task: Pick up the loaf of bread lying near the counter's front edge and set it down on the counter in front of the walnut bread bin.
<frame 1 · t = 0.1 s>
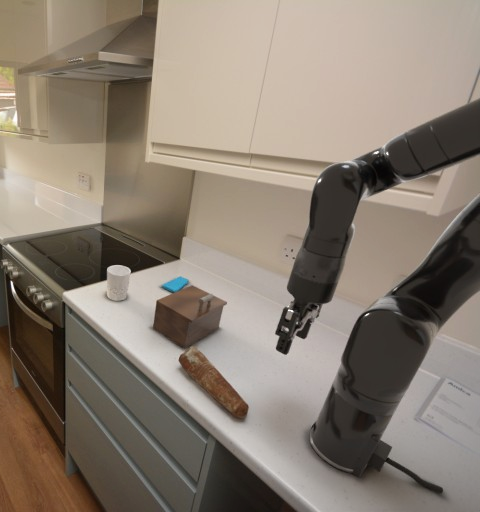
hand: (291, 344, 69), 17 cm above the countertop, tool pointing down, fingers open, 8 cm apart
bread: (212, 389, 80), on the countertop
sponge: (177, 286, 127), on the countertop
bread bin lid: (192, 296, 97), point 11 cm above the countertop, hinge at 0.0°
white cup: (116, 296, 118), on the countertop
bread bin: (185, 328, 102), on the countertop
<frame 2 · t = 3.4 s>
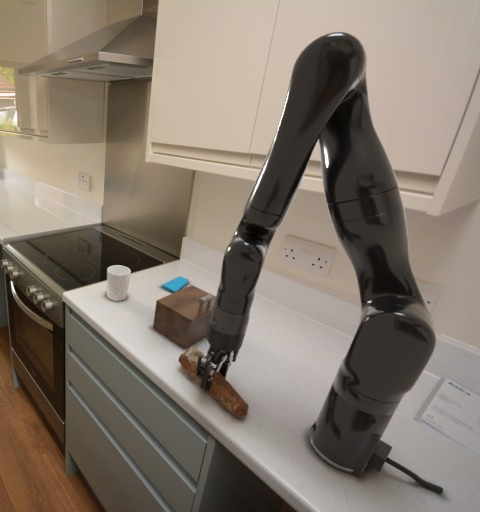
hand: (212, 383, 79), 2 cm above the countertop, tool pointing down, fingers closed on bread, 6 cm apart
bread: (212, 389, 80), on the countertop, touching gripper
everything else where it was.
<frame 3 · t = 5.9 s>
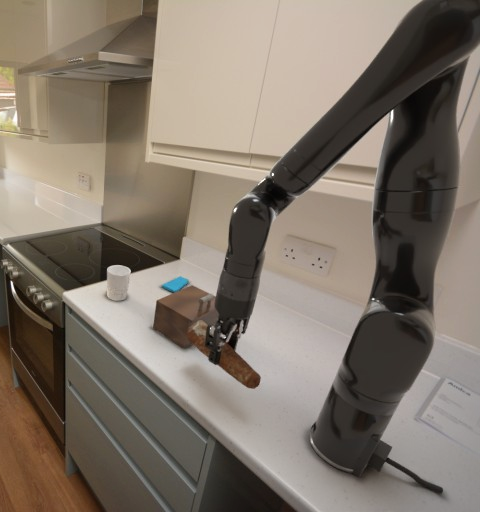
hand: (221, 356, 76), 10 cm above the countertop, tool pointing down, fingers closed on bread, 6 cm apart
bread: (221, 362, 77), point 8 cm above the countertop, touching gripper
everything else where it was.
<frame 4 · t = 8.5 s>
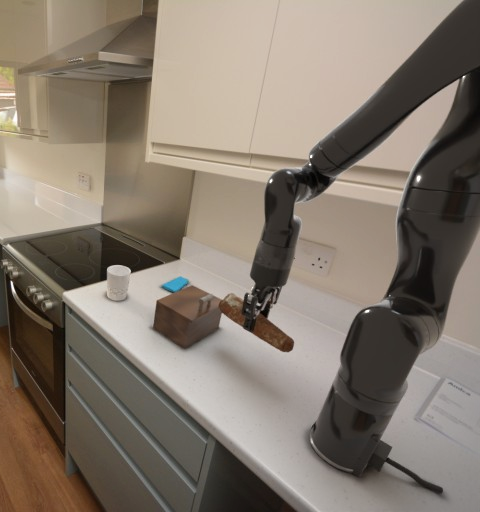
hand: (254, 325, 81), 14 cm above the countertop, tool pointing down, fingers closed on bread, 6 cm apart
bread: (254, 331, 82), point 12 cm above the countertop, touching gripper
everything else where it was.
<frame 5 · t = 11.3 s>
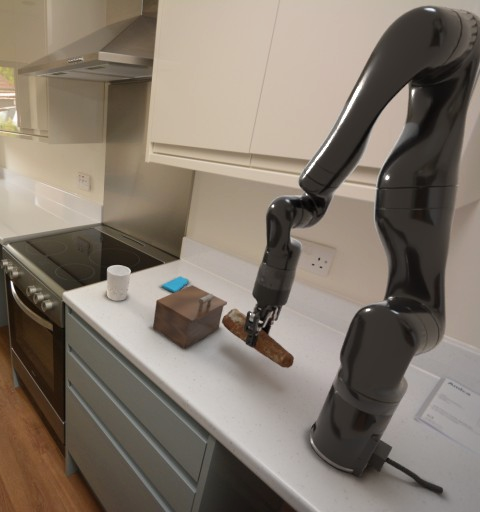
hand: (256, 340, 85), 8 cm above the countertop, tool pointing down, fingers closed on bread, 6 cm apart
bread: (256, 346, 86), point 6 cm above the countertop, touching gripper
everything else where it was.
when the fingers open (2 cm above the countertop, at t = 13.5 s): bread stays where it is, on the countertop.
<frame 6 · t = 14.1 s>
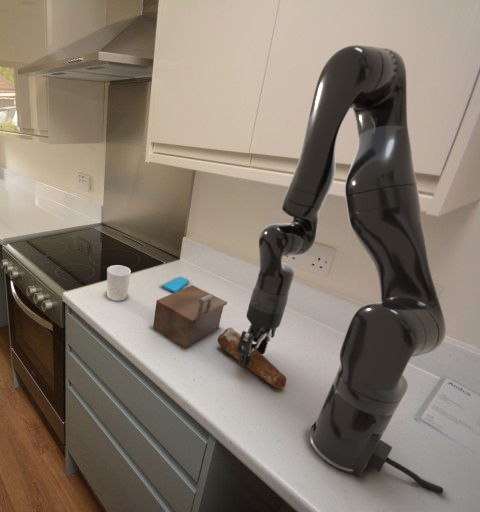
hand: (251, 358, 87), 2 cm above the countertop, tool pointing down, fingers open, 8 cm apart
bread: (250, 365, 88), on the countertop
everything else where it was.
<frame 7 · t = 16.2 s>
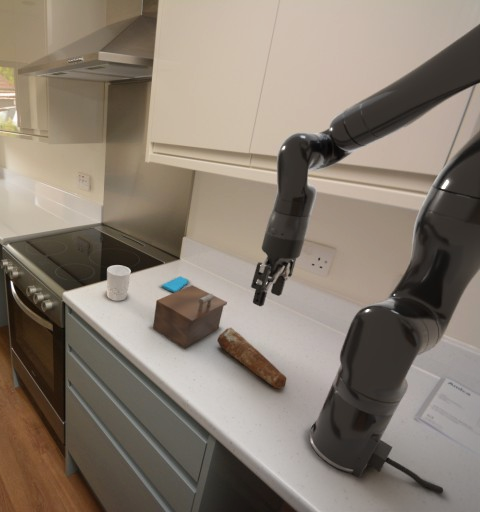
hand: (267, 299, 78), 21 cm above the countertop, tool pointing down, fingers open, 8 cm apart
nothing on the countertop moved.
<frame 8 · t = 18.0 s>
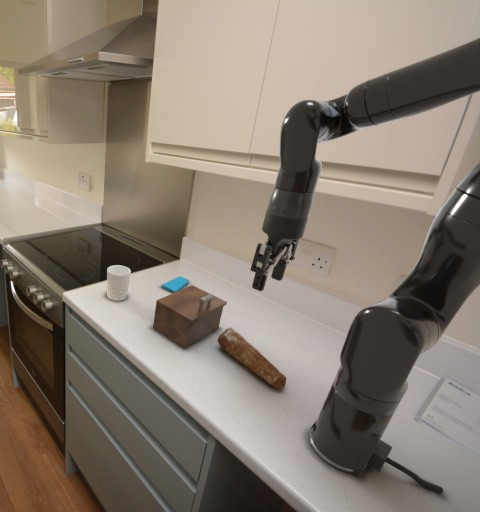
hand: (267, 284, 73), 26 cm above the countertop, tool pointing down, fingers open, 8 cm apart
nothing on the countertop moved.
at the end: bread inside the target area on the countertop beside the bread bin (1.1 cm from its centre), on the countertop; bread tilted 0°; the gripper is holding nothing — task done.
